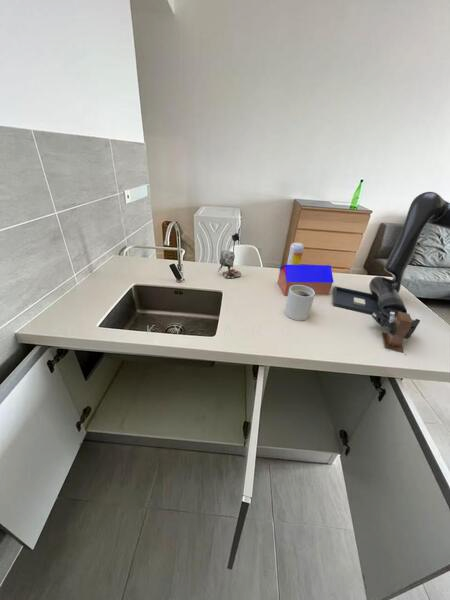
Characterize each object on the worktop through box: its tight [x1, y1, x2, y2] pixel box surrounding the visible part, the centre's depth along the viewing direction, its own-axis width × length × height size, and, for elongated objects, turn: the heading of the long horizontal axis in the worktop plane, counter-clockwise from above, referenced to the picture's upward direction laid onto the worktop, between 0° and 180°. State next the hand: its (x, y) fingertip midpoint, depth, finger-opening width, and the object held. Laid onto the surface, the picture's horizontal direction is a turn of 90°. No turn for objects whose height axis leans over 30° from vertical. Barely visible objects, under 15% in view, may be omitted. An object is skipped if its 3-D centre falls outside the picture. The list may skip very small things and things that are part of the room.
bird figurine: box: [217, 232, 242, 279], centre depth 111 cm, size 8×11×20 cm
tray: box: [332, 286, 380, 316], centre depth 99 cm, size 20×16×2 cm
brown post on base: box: [380, 312, 413, 354], centre depth 75 cm, size 5×8×12 cm, turn 158°
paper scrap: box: [353, 297, 365, 306], centre depth 99 cm, size 4×4×1 cm
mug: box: [284, 285, 315, 321], centre depth 89 cm, size 11×10×10 cm
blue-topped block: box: [277, 264, 335, 297], centre depth 105 cm, size 12×20×12 cm, turn 94°
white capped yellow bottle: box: [286, 242, 305, 265], centre depth 118 cm, size 6×6×15 cm
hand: (400, 334), depth 72 cm, fingers closed on brown post on base, 3 cm apart
